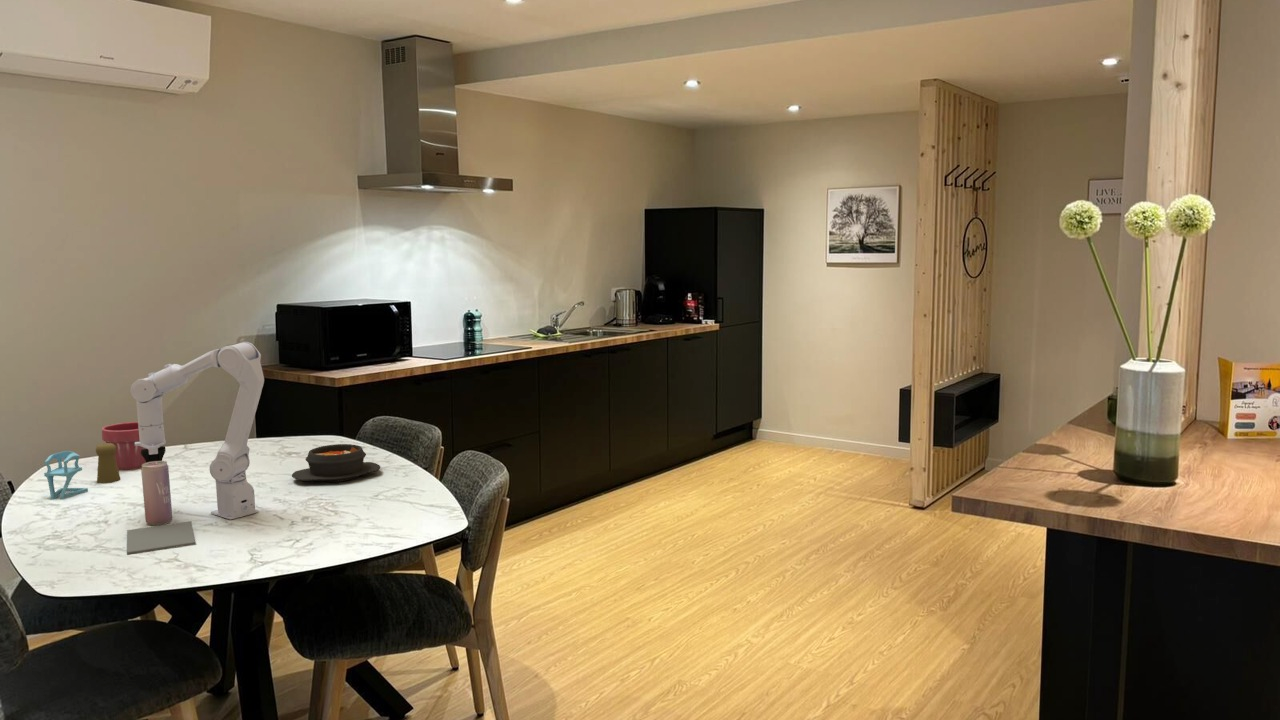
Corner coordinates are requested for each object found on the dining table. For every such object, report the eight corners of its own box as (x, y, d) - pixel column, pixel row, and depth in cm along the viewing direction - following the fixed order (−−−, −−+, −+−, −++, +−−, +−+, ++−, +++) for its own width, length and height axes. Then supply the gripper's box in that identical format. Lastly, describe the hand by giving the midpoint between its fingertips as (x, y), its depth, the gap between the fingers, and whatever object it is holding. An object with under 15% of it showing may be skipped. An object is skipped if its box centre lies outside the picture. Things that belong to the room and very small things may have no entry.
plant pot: (166, 461, 294) (163, 421, 292) (138, 472, 280) (135, 431, 278) (124, 460, 295) (121, 420, 294) (94, 471, 282) (90, 430, 280)
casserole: (372, 465, 287) (371, 438, 286) (387, 478, 271) (386, 450, 270) (287, 475, 275) (285, 448, 274) (297, 490, 259) (295, 461, 258)
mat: (127, 532, 224) (127, 530, 224) (191, 523, 231) (191, 521, 231) (126, 554, 208) (126, 552, 208) (195, 544, 215) (195, 542, 215)
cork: (91, 482, 269) (88, 445, 267) (108, 477, 275) (105, 441, 273) (109, 483, 268) (105, 446, 266) (125, 478, 273) (122, 442, 272)
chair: (42, 499, 253) (37, 456, 251) (61, 490, 261) (57, 449, 259) (69, 499, 252) (65, 456, 250) (88, 490, 260) (84, 449, 259)
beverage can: (163, 517, 236) (158, 459, 234) (177, 520, 233) (173, 462, 231) (140, 523, 231) (135, 464, 229) (154, 527, 228) (149, 467, 226)
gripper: (133, 420, 241) (137, 471, 243) (133, 431, 228) (137, 484, 230) (163, 418, 244) (167, 468, 246) (165, 428, 231) (169, 481, 233)
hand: (155, 476), depth 238 cm, fingers closed
